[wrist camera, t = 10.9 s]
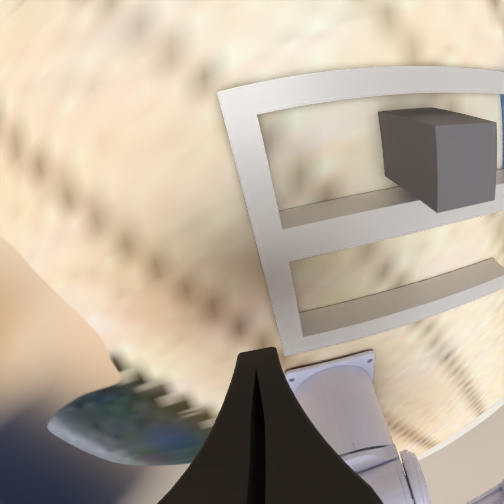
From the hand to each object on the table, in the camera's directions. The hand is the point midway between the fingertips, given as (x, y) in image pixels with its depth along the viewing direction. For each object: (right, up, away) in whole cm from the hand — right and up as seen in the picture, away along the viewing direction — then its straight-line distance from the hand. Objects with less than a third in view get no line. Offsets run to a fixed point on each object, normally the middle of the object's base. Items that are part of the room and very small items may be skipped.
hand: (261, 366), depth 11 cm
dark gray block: (+9, +11, +5) cm, 15 cm away
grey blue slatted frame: (+10, +8, +7) cm, 15 cm away
